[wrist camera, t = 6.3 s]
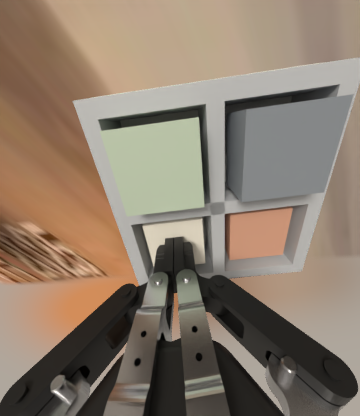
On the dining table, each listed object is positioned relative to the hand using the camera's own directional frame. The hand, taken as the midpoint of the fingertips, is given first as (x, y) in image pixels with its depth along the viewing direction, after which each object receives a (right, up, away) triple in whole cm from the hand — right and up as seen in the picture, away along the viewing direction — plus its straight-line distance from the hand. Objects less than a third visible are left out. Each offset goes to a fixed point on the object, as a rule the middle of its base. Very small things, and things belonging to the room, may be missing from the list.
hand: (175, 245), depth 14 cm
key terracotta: (+7, +2, +3) cm, 8 cm away
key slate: (+6, +8, -3) cm, 10 cm away
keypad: (+3, +6, +2) cm, 7 cm away
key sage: (-1, +7, -2) cm, 7 cm away
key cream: (0, +1, +3) cm, 3 cm away
